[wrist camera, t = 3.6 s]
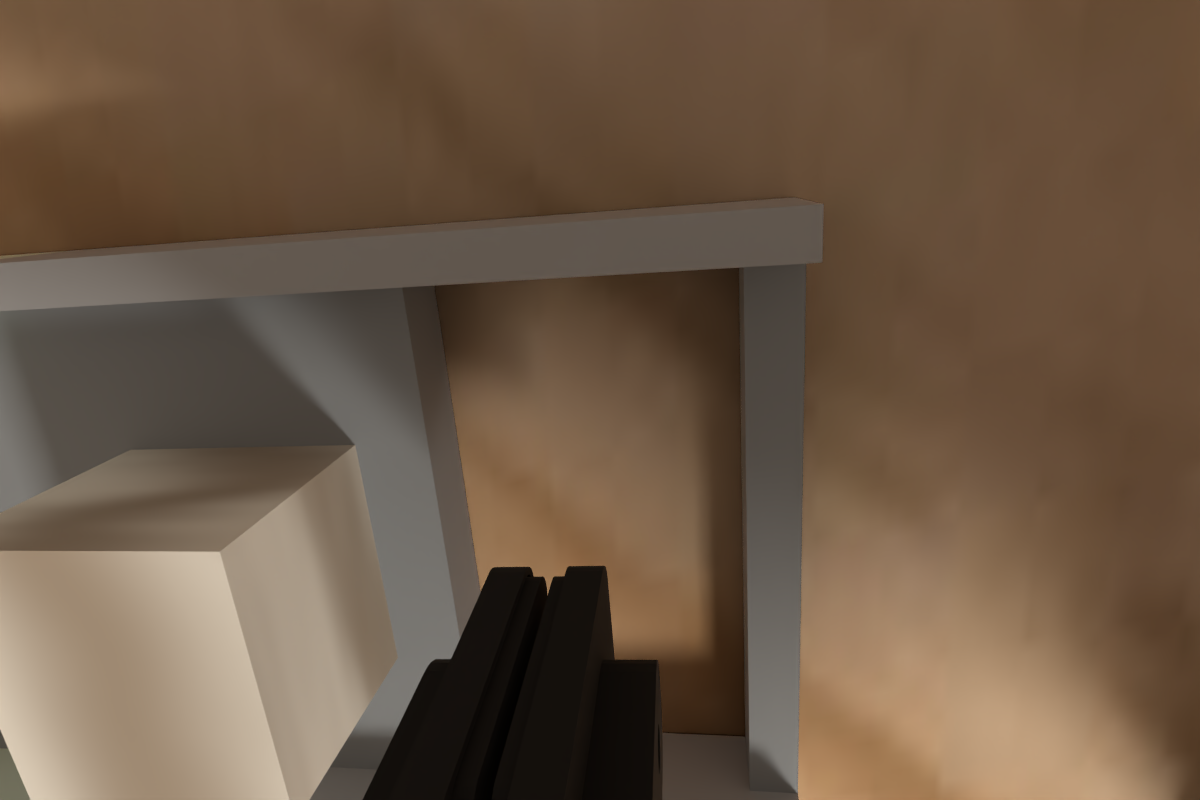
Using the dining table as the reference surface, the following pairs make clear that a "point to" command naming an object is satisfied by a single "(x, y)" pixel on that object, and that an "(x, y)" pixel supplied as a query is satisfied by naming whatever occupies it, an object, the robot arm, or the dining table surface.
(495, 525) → the dining table surface
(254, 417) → the track
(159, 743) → the cream block
